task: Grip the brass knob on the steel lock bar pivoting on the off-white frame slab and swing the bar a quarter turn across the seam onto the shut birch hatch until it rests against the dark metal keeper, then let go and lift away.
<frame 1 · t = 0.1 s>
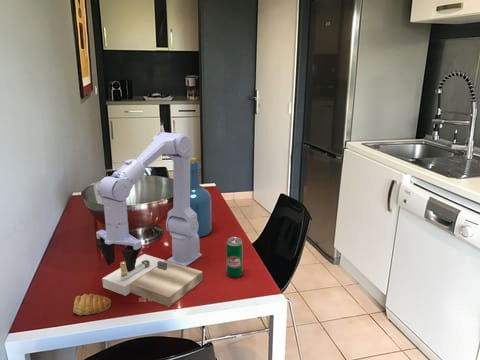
hand: (120, 266, 109), 10 cm above the table, tool pointing down, fingers open, 7 cm apart
soda can: (234, 274, 125), on the table
lock bar: (135, 263, 119), point 6 cm above the table, hinge at 0.0°
pastry: (90, 309, 108), on the table
blue bottle: (195, 232, 157), on the table
frame slab: (136, 277, 123), on the table
keeper: (162, 277, 123), resting on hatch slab
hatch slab: (168, 286, 118), on the table
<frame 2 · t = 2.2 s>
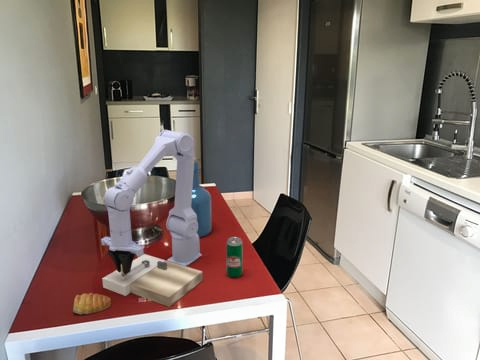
hand: (124, 271, 115), 5 cm above the table, tool pointing down, fingers closed on lock bar, 2 cm apart
lock bar: (135, 263, 119), point 6 cm above the table, hinge at 0.0°, touching gripper
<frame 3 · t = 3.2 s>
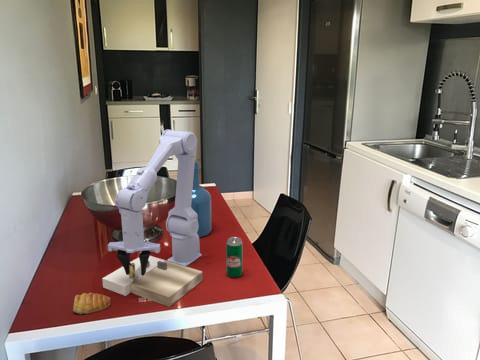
hand: (136, 273, 115), 5 cm above the table, tool pointing down, fingers open, 4 cm apart
lock bar: (139, 264, 119), point 6 cm above the table, hinge at 17.8°, touching gripper
everything else where it was.
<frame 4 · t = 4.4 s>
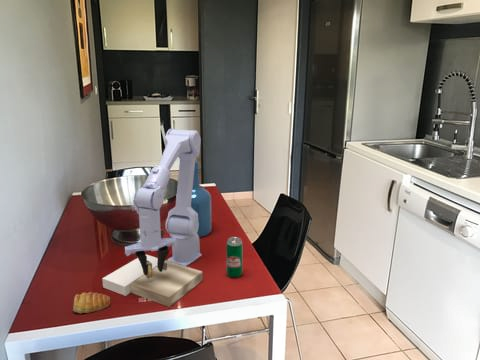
hand: (152, 271, 115), 5 cm above the table, tool pointing down, fingers open, 4 cm apart
lock bar: (147, 264, 119), point 6 cm above the table, hinge at 49.2°, touching gripper
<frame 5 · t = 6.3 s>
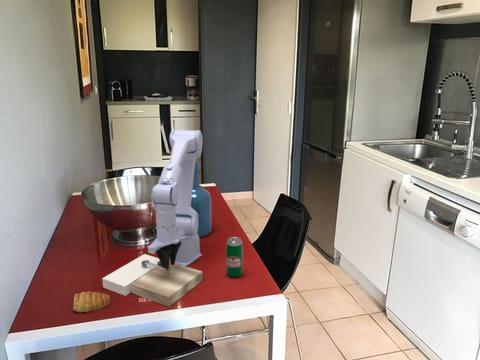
hand: (168, 265, 119), 5 cm above the table, tool pointing down, fingers closed
lock bar: (156, 261, 121), point 6 cm above the table, hinge at 89.0°, touching gripper
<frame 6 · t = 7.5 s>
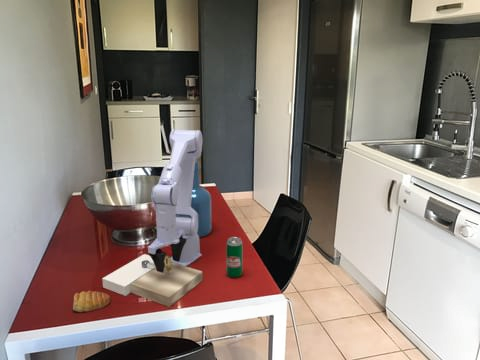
hand: (168, 265, 119), 5 cm above the table, tool pointing down, fingers open, 7 cm apart
lock bar: (156, 261, 121), point 6 cm above the table, hinge at 90.5°
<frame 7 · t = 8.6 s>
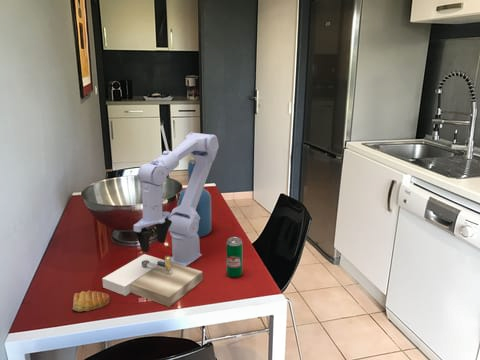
hand: (153, 246, 120), 10 cm above the table, tool pointing down, fingers open, 7 cm apart
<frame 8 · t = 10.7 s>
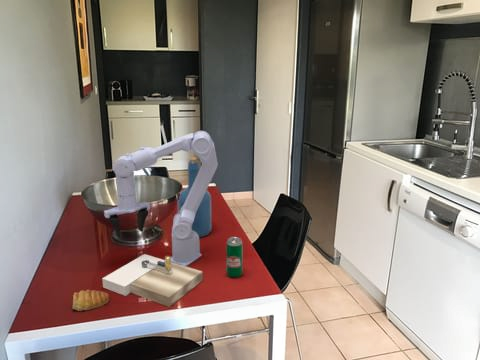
hand: (129, 233, 130), 10 cm above the table, tool pointing down, fingers open, 7 cm apart
at the end: lock bar at +90° (first picture: +0°); the gripper is holding nothing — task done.
